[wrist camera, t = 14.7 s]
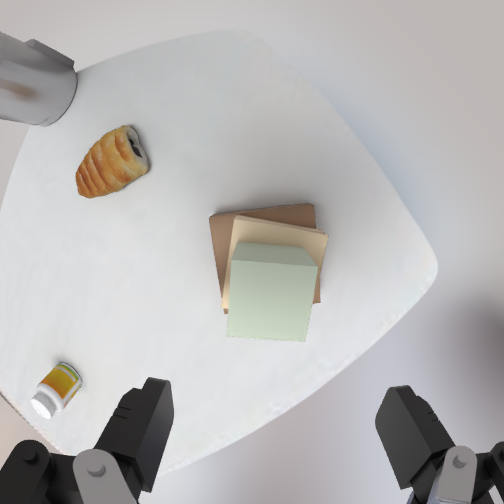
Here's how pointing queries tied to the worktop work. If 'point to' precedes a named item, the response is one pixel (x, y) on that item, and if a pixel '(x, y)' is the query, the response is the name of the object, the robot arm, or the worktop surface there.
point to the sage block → (270, 292)
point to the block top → (274, 242)
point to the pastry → (111, 163)
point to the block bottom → (285, 214)
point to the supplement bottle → (56, 390)
